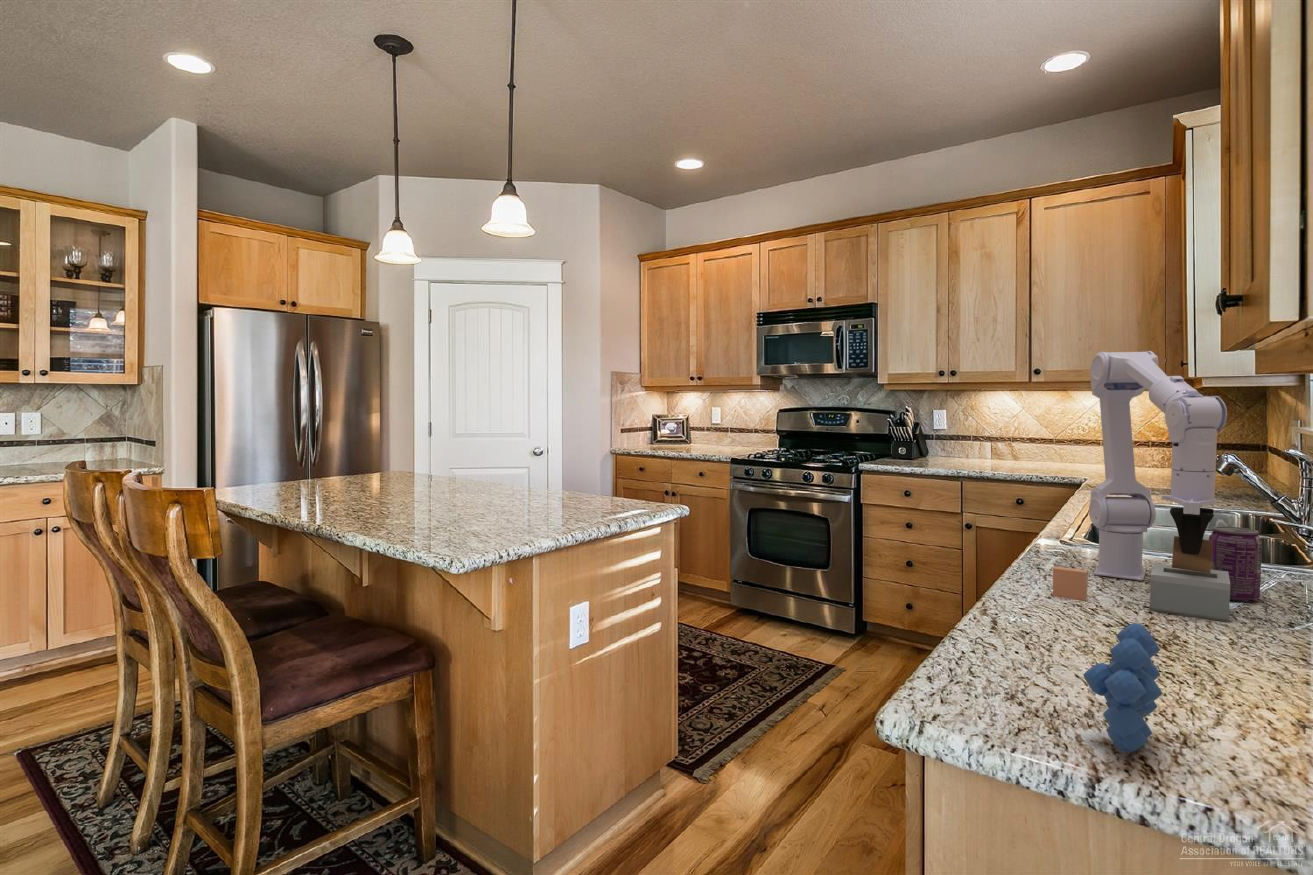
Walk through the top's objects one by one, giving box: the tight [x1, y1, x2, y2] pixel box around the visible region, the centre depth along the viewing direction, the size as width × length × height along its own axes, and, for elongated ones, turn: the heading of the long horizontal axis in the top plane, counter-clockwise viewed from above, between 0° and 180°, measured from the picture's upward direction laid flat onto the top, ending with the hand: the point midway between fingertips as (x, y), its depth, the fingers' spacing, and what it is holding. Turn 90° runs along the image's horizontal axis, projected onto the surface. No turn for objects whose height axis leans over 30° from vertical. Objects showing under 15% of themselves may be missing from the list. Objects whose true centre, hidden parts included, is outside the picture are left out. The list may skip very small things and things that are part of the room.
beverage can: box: [1208, 525, 1263, 602], centre depth 120 cm, size 7×7×12 cm
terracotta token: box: [1052, 565, 1089, 602], centre depth 121 cm, size 2×5×5 cm, turn 52°
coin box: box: [1149, 562, 1231, 623], centre depth 114 cm, size 10×10×6 cm
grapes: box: [1082, 622, 1163, 754], centre depth 69 cm, size 12×7×12 cm, turn 136°
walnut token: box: [1171, 535, 1213, 573], centre depth 113 cm, size 2×5×5 cm, turn 52°
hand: (1190, 552), depth 113 cm, fingers closed on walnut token, 2 cm apart
